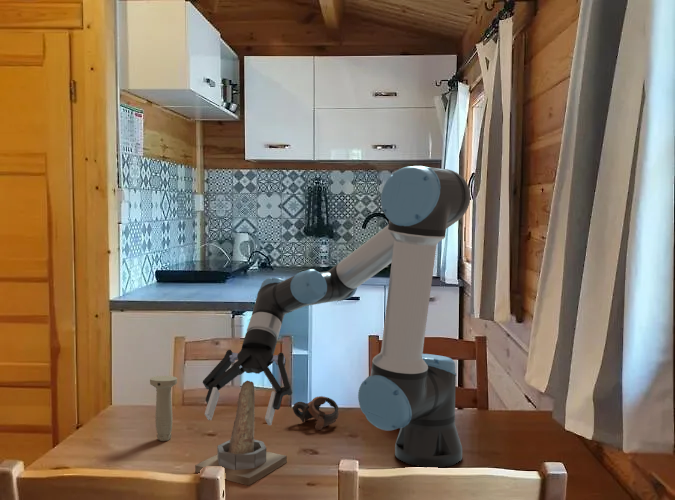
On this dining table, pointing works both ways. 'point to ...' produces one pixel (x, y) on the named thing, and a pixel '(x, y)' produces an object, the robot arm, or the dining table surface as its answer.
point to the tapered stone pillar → (244, 422)
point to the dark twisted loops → (316, 411)
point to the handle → (163, 405)
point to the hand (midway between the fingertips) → (237, 419)
